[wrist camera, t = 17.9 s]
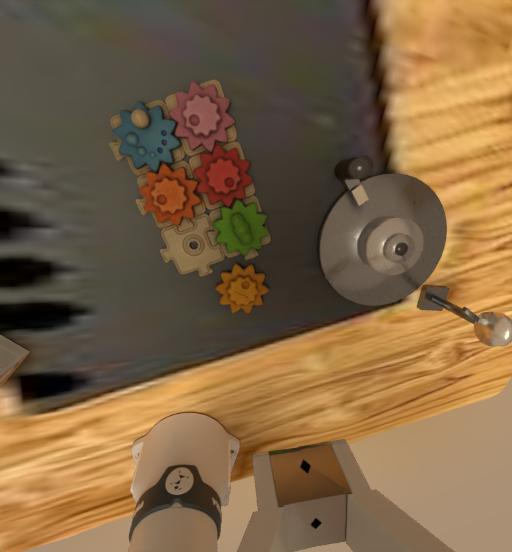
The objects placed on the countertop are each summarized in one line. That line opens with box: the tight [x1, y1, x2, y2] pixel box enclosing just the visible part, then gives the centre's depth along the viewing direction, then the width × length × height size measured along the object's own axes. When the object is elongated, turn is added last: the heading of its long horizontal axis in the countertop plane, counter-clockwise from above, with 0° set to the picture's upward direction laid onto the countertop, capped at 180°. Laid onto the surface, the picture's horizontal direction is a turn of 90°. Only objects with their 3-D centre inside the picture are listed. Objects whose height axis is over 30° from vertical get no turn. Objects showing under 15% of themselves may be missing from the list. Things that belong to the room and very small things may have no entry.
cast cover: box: [357, 216, 424, 275], centre depth 40 cm, size 8×8×5 cm
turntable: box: [318, 156, 447, 306], centre depth 40 cm, size 23×20×6 cm
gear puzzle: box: [110, 80, 271, 313], centre depth 38 cm, size 31×16×4 cm, turn 19°
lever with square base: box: [417, 285, 512, 346], centre depth 41 cm, size 4×5×14 cm
